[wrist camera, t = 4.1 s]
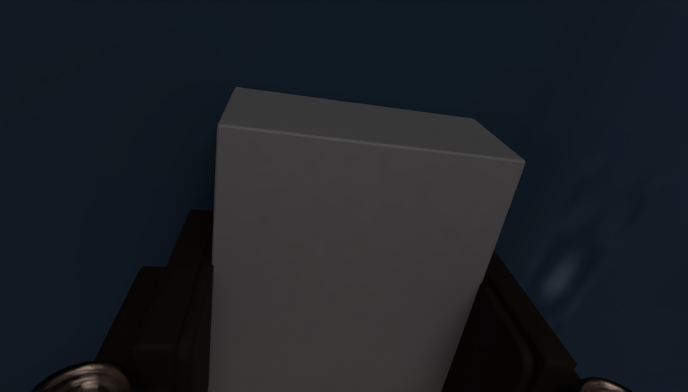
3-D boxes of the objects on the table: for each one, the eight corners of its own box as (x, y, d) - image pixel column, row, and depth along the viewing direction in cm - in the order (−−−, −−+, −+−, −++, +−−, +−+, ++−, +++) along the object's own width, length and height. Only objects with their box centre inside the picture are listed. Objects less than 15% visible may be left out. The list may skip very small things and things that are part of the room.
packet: (474, 118, 10) (527, 161, 7) (395, 384, 13) (416, 465, 11) (234, 85, 9) (216, 123, 7) (218, 379, 12) (203, 466, 10)
